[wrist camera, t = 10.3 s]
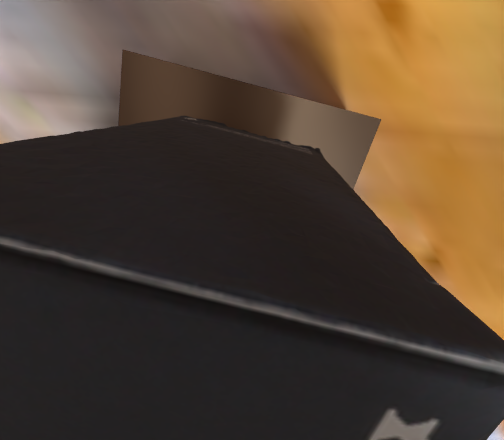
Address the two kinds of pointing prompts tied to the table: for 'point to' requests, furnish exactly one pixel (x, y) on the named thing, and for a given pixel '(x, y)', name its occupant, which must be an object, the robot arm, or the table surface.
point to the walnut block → (244, 110)
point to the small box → (220, 298)
